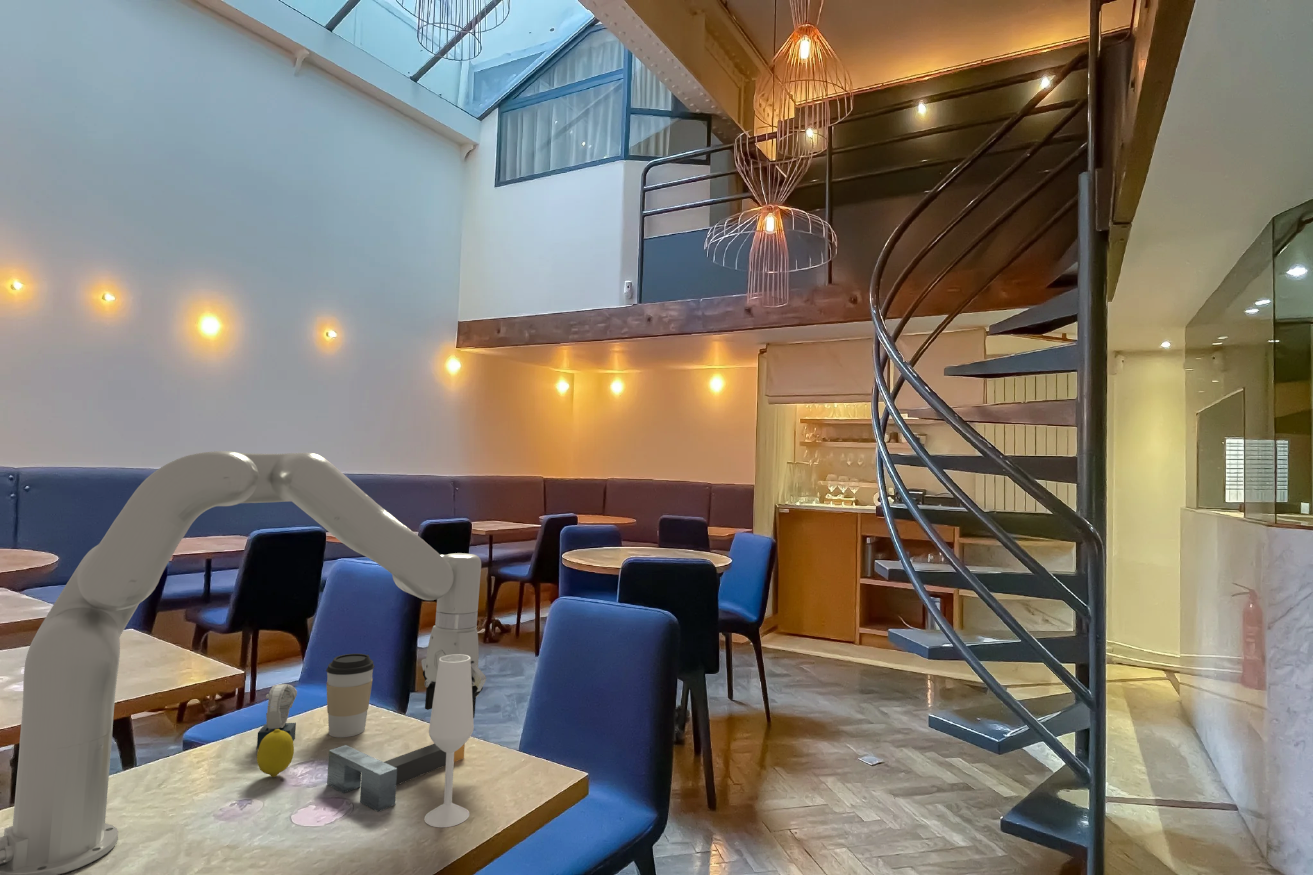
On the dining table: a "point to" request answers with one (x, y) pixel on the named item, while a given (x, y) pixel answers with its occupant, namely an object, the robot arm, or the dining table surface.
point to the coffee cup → (348, 694)
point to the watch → (278, 711)
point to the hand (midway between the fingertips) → (449, 713)
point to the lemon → (275, 752)
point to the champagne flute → (451, 728)
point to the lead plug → (421, 762)
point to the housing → (362, 777)
